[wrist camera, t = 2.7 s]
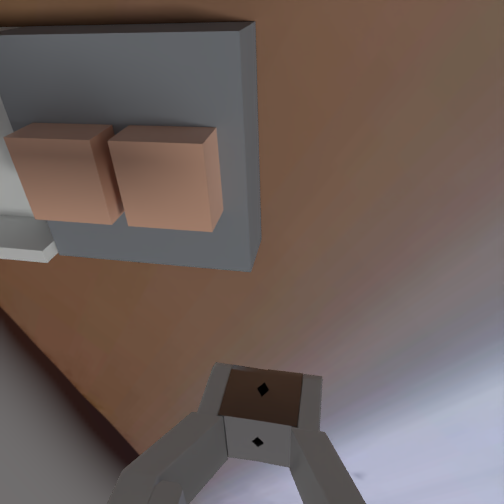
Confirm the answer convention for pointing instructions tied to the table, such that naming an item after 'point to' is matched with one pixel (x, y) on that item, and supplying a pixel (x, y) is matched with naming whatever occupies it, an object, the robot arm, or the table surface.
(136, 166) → the front tile
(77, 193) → the rear tile
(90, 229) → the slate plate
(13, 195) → the bin
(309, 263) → the table surface
